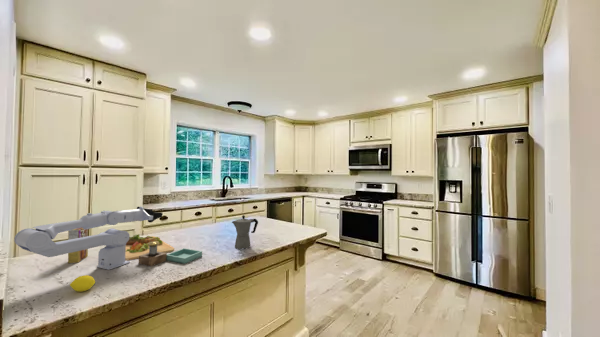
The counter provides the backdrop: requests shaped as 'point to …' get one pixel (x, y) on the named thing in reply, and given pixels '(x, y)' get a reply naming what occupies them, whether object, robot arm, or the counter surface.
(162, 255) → the block
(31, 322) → the counter surface
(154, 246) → the pin
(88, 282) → the lemon
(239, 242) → the coffeepot
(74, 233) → the candy box
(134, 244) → the cutting board
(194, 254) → the tray
